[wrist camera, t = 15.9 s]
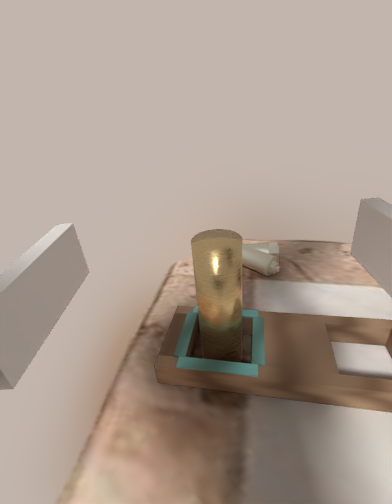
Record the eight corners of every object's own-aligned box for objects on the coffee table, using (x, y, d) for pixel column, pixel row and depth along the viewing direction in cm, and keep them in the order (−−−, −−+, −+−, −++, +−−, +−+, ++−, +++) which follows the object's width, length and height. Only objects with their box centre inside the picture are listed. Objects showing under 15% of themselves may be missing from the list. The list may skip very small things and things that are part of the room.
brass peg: (243, 340, 32) (243, 229, 26) (241, 373, 28) (240, 252, 22) (205, 337, 33) (196, 229, 27) (199, 368, 29) (186, 251, 23)
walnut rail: (409, 339, 30) (417, 320, 29) (460, 421, 23) (473, 400, 21) (179, 321, 36) (177, 304, 35) (158, 382, 28) (153, 364, 27)
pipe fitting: (283, 280, 43) (273, 256, 49) (286, 259, 41) (275, 236, 47) (231, 283, 43) (227, 259, 49) (231, 263, 41) (227, 240, 47)
